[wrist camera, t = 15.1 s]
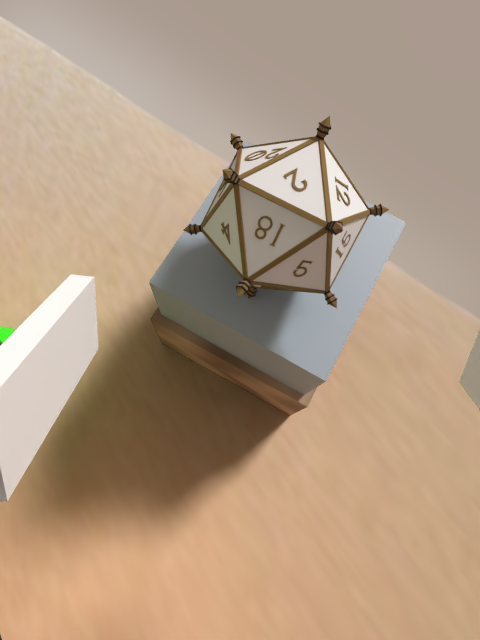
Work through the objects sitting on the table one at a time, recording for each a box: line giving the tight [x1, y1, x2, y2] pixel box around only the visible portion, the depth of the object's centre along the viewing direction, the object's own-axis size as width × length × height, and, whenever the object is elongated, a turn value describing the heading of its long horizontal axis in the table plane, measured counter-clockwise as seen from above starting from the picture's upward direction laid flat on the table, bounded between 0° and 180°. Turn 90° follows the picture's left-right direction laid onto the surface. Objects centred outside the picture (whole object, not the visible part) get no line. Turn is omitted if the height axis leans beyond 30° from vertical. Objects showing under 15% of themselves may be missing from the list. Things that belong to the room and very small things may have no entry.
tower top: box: [149, 141, 406, 395], centre depth 28 cm, size 11×11×6 cm
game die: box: [184, 116, 389, 308], centre depth 21 cm, size 9×8×10 cm
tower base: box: [151, 307, 317, 415], centre depth 34 cm, size 12×12×7 cm
